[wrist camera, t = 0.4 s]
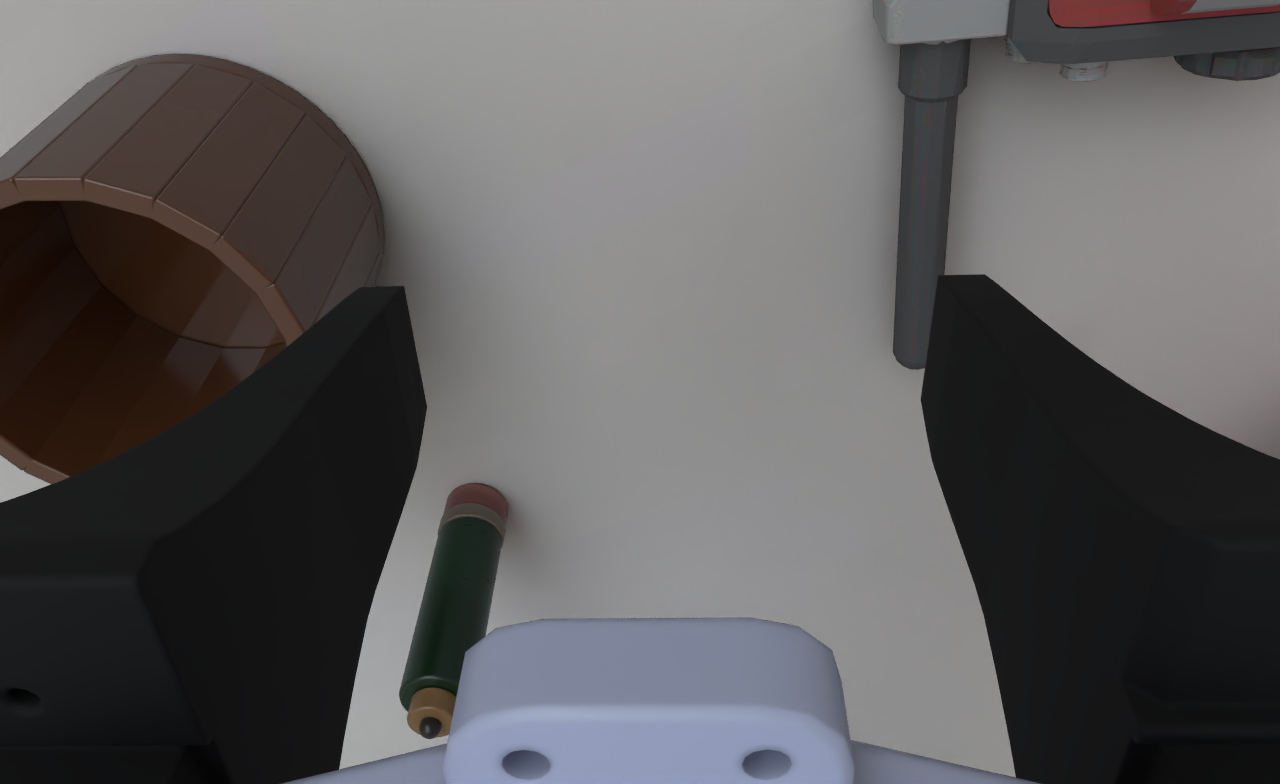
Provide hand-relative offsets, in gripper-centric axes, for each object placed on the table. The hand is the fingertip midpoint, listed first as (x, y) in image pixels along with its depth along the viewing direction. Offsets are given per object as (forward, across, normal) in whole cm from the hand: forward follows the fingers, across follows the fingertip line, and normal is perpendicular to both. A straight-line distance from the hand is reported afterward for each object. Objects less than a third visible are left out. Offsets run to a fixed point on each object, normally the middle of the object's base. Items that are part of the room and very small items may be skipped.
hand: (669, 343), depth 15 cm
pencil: (+10, +6, +12) cm, 17 cm away
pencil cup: (+10, +10, +3) cm, 15 cm away
